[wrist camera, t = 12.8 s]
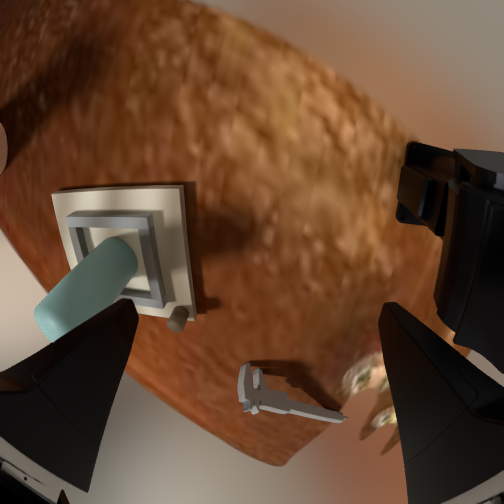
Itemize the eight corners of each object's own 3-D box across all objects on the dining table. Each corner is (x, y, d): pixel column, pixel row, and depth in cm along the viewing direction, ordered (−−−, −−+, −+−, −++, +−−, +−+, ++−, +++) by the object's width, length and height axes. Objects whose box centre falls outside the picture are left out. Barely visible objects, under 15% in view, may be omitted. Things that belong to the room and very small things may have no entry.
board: (183, 185, 21) (169, 196, 18) (196, 314, 27) (188, 335, 24) (57, 190, 22) (38, 201, 19) (87, 297, 28) (74, 313, 26)
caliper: (241, 362, 30) (232, 407, 25) (247, 358, 30) (239, 404, 24) (342, 417, 36) (344, 452, 30) (348, 415, 35) (351, 450, 30)
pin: (133, 238, 22) (65, 311, 14) (142, 280, 25) (90, 359, 16) (94, 236, 23) (25, 300, 14) (105, 276, 25) (49, 345, 16)
